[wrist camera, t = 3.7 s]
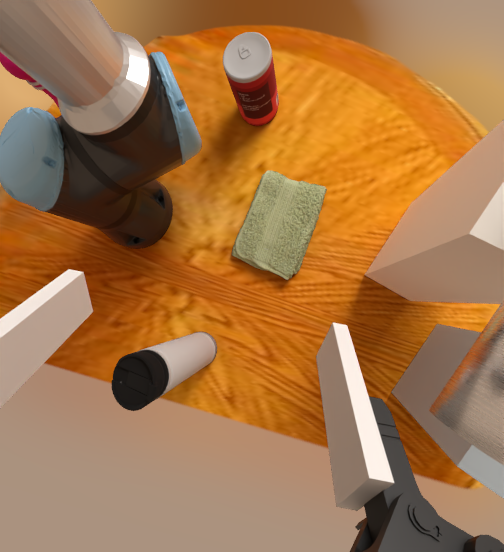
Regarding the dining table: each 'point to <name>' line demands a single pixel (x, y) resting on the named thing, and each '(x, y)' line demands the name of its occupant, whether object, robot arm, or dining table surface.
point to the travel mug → (160, 369)
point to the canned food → (252, 77)
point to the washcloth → (279, 224)
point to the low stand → (426, 388)
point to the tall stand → (452, 234)
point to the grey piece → (478, 392)
